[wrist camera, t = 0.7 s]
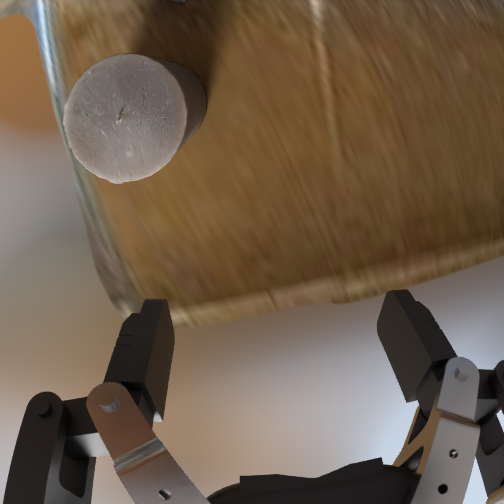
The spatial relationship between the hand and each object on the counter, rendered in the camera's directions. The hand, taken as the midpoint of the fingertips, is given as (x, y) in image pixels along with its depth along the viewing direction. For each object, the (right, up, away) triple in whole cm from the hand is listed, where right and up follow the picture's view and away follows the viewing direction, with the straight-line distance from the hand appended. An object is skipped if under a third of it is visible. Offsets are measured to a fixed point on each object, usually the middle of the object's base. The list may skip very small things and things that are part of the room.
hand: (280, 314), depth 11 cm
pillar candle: (-11, +18, +20) cm, 29 cm away
